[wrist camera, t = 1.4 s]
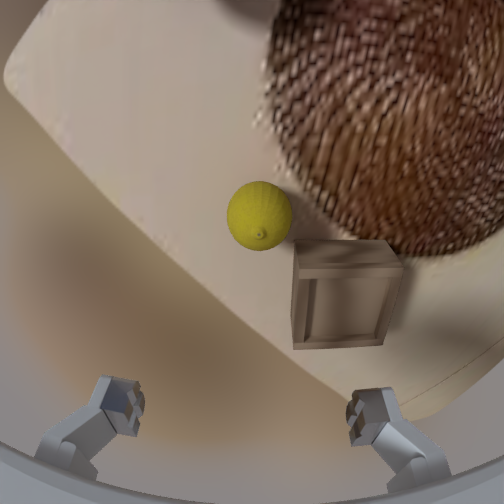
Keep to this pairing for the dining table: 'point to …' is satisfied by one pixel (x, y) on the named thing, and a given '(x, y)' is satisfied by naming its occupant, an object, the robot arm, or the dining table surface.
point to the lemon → (259, 216)
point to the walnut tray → (343, 293)
